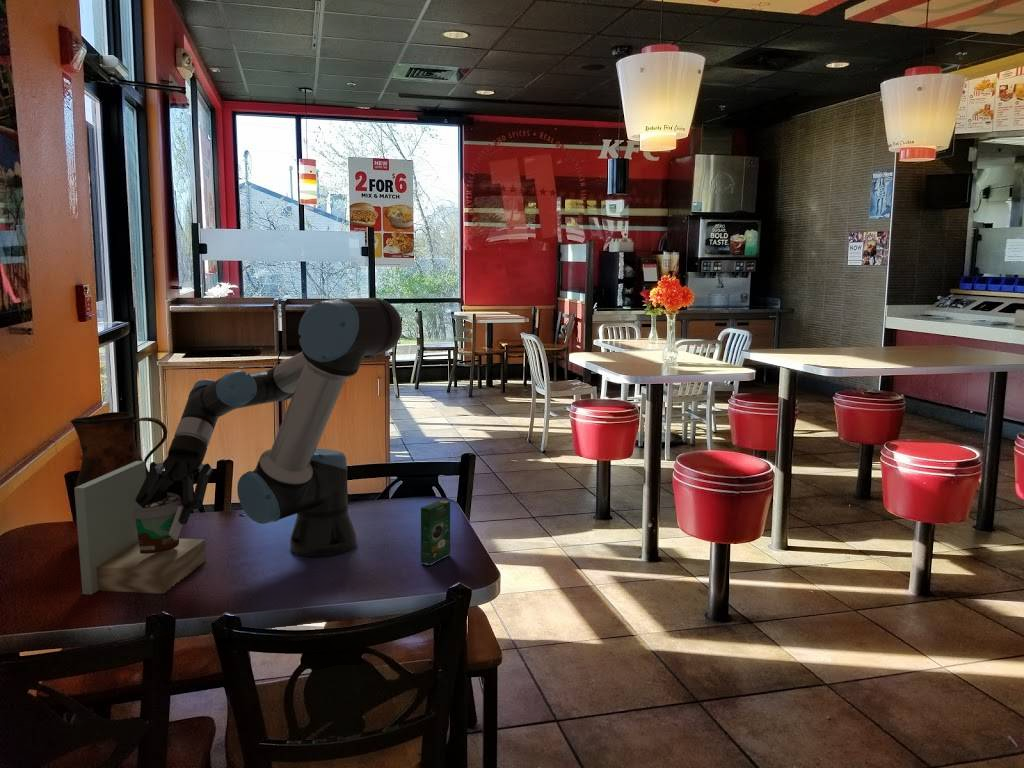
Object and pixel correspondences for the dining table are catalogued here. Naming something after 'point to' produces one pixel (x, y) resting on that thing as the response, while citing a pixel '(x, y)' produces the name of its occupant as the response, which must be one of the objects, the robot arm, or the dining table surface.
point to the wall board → (106, 518)
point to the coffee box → (435, 531)
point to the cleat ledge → (150, 568)
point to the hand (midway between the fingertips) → (156, 536)
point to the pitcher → (109, 443)
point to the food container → (157, 524)
